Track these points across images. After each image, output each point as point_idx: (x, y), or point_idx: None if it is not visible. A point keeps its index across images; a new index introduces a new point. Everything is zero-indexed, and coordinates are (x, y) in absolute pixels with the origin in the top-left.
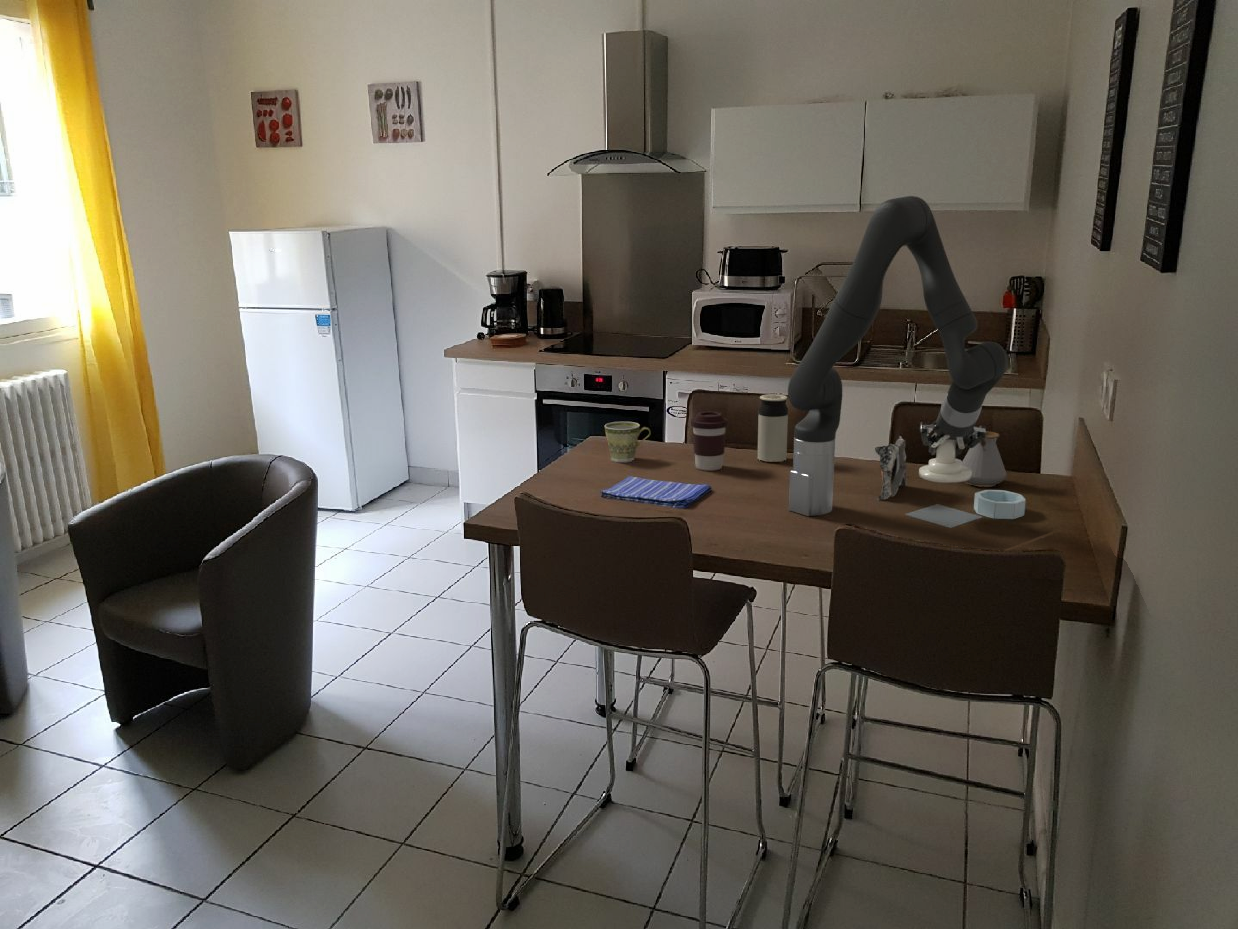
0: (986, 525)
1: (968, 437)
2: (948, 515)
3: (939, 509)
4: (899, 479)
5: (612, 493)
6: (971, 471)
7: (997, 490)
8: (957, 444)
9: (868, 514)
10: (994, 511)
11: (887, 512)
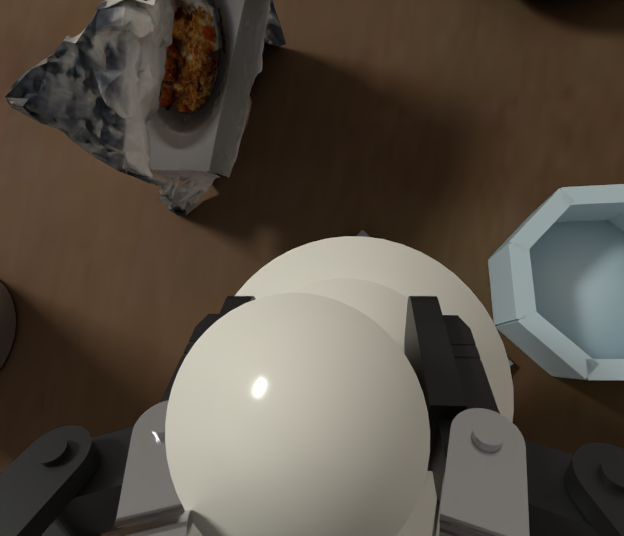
0: None
1: (587, 508)
2: None
3: None
4: (247, 67)
5: None
6: None
7: (613, 189)
8: (431, 438)
9: (121, 358)
10: (566, 377)
11: (185, 328)
